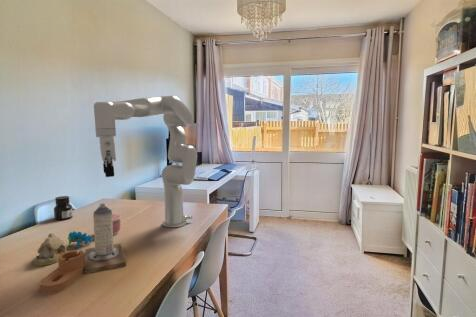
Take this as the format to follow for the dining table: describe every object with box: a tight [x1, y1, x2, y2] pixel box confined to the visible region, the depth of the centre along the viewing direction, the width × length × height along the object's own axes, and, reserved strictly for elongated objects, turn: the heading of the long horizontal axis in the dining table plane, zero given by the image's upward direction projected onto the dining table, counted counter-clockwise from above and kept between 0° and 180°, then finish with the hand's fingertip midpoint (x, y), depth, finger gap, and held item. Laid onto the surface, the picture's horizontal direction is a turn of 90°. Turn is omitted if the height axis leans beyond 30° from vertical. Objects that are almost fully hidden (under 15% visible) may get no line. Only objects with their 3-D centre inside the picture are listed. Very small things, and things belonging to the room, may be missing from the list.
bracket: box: [39, 249, 85, 294], centre depth 110 cm, size 18×8×7 cm, turn 177°
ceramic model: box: [33, 233, 69, 266], centre depth 127 cm, size 14×11×10 cm
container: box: [112, 213, 122, 236], centre depth 154 cm, size 10×10×8 cm
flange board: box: [84, 243, 127, 274], centre depth 126 cm, size 14×20×3 cm
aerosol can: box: [92, 202, 114, 256], centre depth 125 cm, size 7×7×20 cm
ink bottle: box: [53, 195, 73, 221], centre depth 177 cm, size 10×9×12 cm
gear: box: [67, 230, 94, 249], centre depth 138 cm, size 11×6×10 cm
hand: (108, 174), depth 130 cm, fingers open, 9 cm apart
